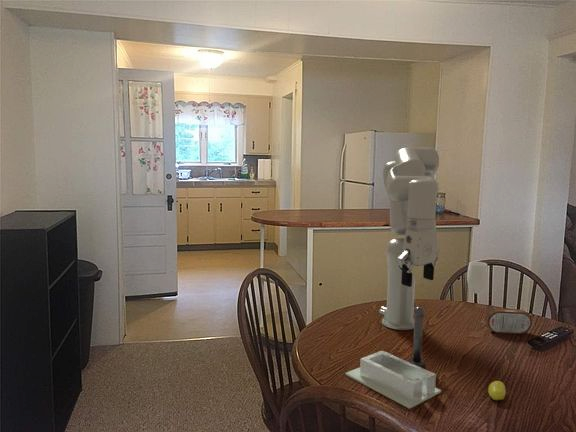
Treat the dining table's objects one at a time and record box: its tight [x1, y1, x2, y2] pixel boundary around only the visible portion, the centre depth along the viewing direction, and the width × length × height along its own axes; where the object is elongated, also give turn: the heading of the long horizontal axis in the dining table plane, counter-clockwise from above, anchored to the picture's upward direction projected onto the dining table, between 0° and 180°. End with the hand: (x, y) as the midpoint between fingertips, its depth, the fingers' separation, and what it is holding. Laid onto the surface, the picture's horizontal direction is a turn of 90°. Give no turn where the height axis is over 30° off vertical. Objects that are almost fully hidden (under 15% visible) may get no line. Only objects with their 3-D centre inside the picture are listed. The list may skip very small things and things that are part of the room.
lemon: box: [487, 380, 507, 401], centre depth 120 cm, size 4×8×4 cm, turn 148°
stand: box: [408, 306, 426, 368], centre depth 137 cm, size 4×4×18 cm
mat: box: [345, 366, 442, 410], centre depth 127 cm, size 22×13×1 cm, turn 38°
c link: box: [359, 350, 437, 403], centre depth 125 cm, size 18×9×5 cm, turn 37°
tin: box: [484, 307, 533, 335], centre depth 163 cm, size 15×3×8 cm, turn 84°
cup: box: [466, 261, 489, 295], centre depth 178 cm, size 7×7×21 cm
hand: (417, 282), depth 134 cm, fingers open, 9 cm apart
